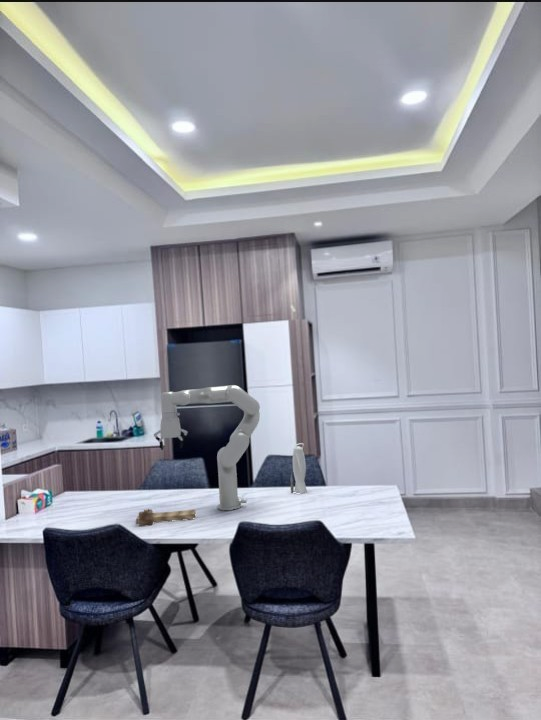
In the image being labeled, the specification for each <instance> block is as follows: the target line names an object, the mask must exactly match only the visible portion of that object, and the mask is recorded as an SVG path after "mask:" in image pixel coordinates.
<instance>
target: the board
mask: <svg viewBox="0 0 541 720" xmlns="http://www.w3.org/2000/svg"><path fill="white" fill-rule="evenodd" d="M195 514H196V509H186V510H175V511H173V510H172V511H163V512H153V522H156V523H163V522H162V521H168V522H173V521H172V520H180V521H184V520H183V519H192V520H194V519H193V518H195V519H196V516H195ZM135 522H136V525H139V514H138V515H137V517H136V519H135Z"/></svg>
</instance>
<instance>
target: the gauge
mask: <svg viewBox="0 0 541 720" xmlns="http://www.w3.org/2000/svg"><path fill="white" fill-rule="evenodd" d="M153 513H154V512H153V509H150V508H147V509H143V511H139V513H138V515H139V524H138V526H139V527H145V525H148V526H152V524H154V523H153Z"/></svg>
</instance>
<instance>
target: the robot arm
mask: <svg viewBox="0 0 541 720" xmlns="http://www.w3.org/2000/svg"><path fill="white" fill-rule="evenodd" d="M160 398H161V401H160V402H161V413H162V414H161V415H162V418H161V419H160V430H158V431H155V432H154V433H153V437H154V438H155V440H156V441H157V442H158V443H159V449H160V450H161V451H163V450H164V442H163V440H164V439H171V438H178V439H179V448H180V449H182V447H184V443H183V442H184V439H185V438H186V437H187V435H188V433H189V432H188V431H187V430H185V429H183V428H181V422H180V418H179V416H180V415H181V413H180V412H178V407H177V406H186V405H188V404H191V405H192V404H200V403H202V404H216V403H228V402H231V403H232V404H234V405H235V406H236V407H237V408H239V409H240V410H242V411H243V418H242V420H241V421H240V422H239V424H238V426H237V427H236V428H235V430H234V431H233V432H232V433H231V435H230V437H229V442H228V443H226V446H223V447H221V448H220V449H219V450H218V451H217V456H216V460H217V461H216V462H217V473H218V475H217V476H218V490H219V491H218V492H219V504H218V505H217V506H216V508H218V509H217V510H220V511H224V510H228V511H234V510H233V509H235V510H238V509H240V508H241V507H242V504H247V502H248V501H247V499H246V498H245V499H244V498H239V496H238V495H239V494H238V477H237V475H238V474H237V463H238V462H239V461H240V459H241V458H242V456H243V454H244V453H246V451H247V449H248V447H249V445H250V437H251V436H252V435H253V434H254V431H255V430H256V428H257V427H258V426H259V425H258V424H259V422H260V414H261V413H260V408H261V407H260V403H259V402H258V400H257V399H255V397H252V396H251V395H250V394H249V393H247V392H246V391H245V390H244V389H243V388H242V387H240V386H238V385H235V384H231V385H221V386H220V385H218V386H210V387H204V388H203V387H202V388H196V389H183V390H180V391H175V392H174V391H164V392H162V393H161V396H160ZM182 433H183V436H181V435H182ZM159 434H160V437H159V436H158V435H159ZM237 508H238V509H237Z"/></svg>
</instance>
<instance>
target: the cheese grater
mask: <svg viewBox="0 0 541 720" xmlns="http://www.w3.org/2000/svg"><path fill="white" fill-rule="evenodd" d="M298 445H302V447H301V446H298ZM304 446H305V444H304V443H303V442H300V443H297V444H295V445H294V446H293V451H292V452H293V453H292V471H293V473H292V472H290V481H289V482H290V486H289V487H290V492H291V493H290V494H293V492H296V493H300V494H299V495H302V494H305V493H304V492H306V493H308V489H307V486H306V482H305V478H306V470H307V469H306V468H307V467H306V466H307V464H306V458H305V457H306V456H305V453H304V449H303V448H304ZM293 477H294V478H293ZM294 480H295V484H294ZM294 485H295V486H294ZM301 493H302V494H301Z"/></svg>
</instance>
